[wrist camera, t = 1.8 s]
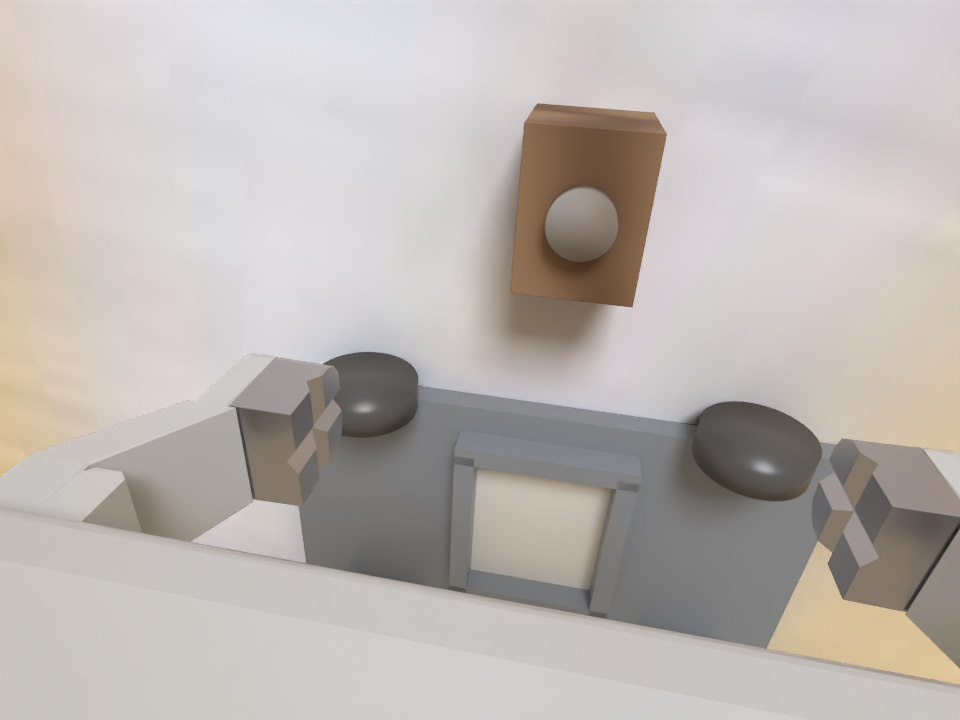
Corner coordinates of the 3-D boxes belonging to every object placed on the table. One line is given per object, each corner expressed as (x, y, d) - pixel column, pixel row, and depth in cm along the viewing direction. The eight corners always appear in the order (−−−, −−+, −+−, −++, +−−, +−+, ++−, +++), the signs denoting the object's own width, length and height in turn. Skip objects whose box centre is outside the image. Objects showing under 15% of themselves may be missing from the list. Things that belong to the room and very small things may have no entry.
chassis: (316, 569, 40) (282, 635, 36) (288, 340, 31) (239, 392, 27) (752, 649, 36) (773, 733, 32) (859, 417, 28) (906, 490, 23)
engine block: (524, 248, 27) (507, 301, 22) (537, 103, 24) (521, 126, 19) (626, 259, 26) (633, 316, 21) (653, 112, 23) (669, 138, 18)
